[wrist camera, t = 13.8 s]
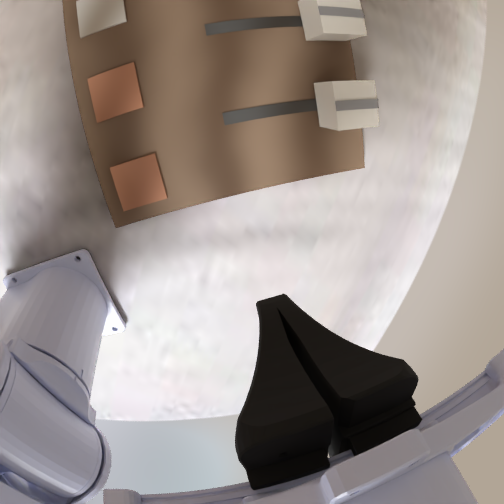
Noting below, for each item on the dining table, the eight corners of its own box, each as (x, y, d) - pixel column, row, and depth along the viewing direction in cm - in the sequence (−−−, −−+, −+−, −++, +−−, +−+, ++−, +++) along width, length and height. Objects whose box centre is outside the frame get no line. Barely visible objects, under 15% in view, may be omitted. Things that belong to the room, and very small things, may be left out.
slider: (319, 126, 18) (339, 131, 15) (313, 83, 16) (332, 81, 14) (357, 122, 18) (380, 126, 16) (352, 81, 17) (375, 80, 14)
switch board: (118, 222, 19) (115, 229, 18) (65, -28, 9) (60, -34, 8) (357, 164, 21) (366, 168, 20) (314, -66, 11) (320, -72, 10)
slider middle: (305, 40, 15) (324, 32, 12) (297, 1, 13) (314, -11, 11) (346, 40, 15) (368, 35, 13) (338, 3, 14) (358, -7, 11)
